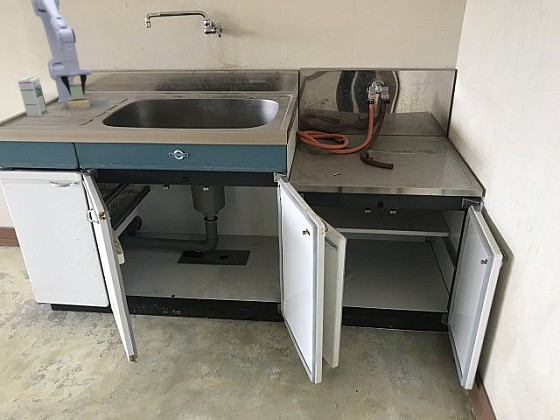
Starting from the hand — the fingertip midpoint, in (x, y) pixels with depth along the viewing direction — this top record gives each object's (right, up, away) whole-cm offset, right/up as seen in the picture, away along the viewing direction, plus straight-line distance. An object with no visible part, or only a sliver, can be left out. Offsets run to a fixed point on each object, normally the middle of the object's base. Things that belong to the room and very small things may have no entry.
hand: (77, 94), depth 195 cm
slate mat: (+2, -4, +5) cm, 7 cm away
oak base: (0, -5, +2) cm, 5 cm away
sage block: (0, -1, +1) cm, 1 cm away
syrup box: (-13, -10, -7) cm, 18 cm away
